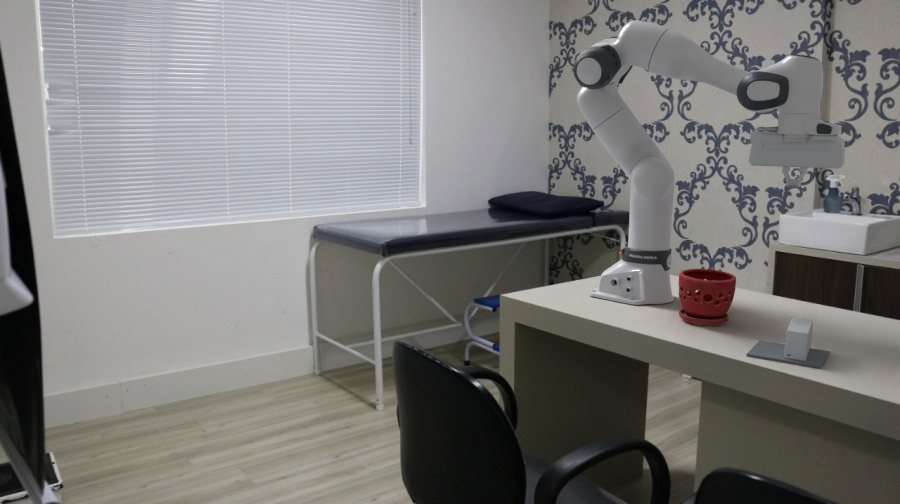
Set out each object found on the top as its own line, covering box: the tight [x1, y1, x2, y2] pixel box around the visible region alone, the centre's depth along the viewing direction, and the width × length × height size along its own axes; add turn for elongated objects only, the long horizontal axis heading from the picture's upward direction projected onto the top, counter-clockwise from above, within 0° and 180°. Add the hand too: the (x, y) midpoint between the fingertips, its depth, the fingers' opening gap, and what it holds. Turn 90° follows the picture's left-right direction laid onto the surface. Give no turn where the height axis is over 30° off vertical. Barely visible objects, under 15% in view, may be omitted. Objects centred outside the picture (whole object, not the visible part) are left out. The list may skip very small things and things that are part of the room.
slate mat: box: [745, 339, 831, 369], centre depth 155 cm, size 14×12×1 cm
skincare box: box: [784, 317, 814, 361], centre depth 155 cm, size 6×4×12 cm
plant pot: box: [678, 268, 737, 327], centre depth 180 cm, size 13×13×12 cm
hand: (793, 186), depth 174 cm, fingers closed
